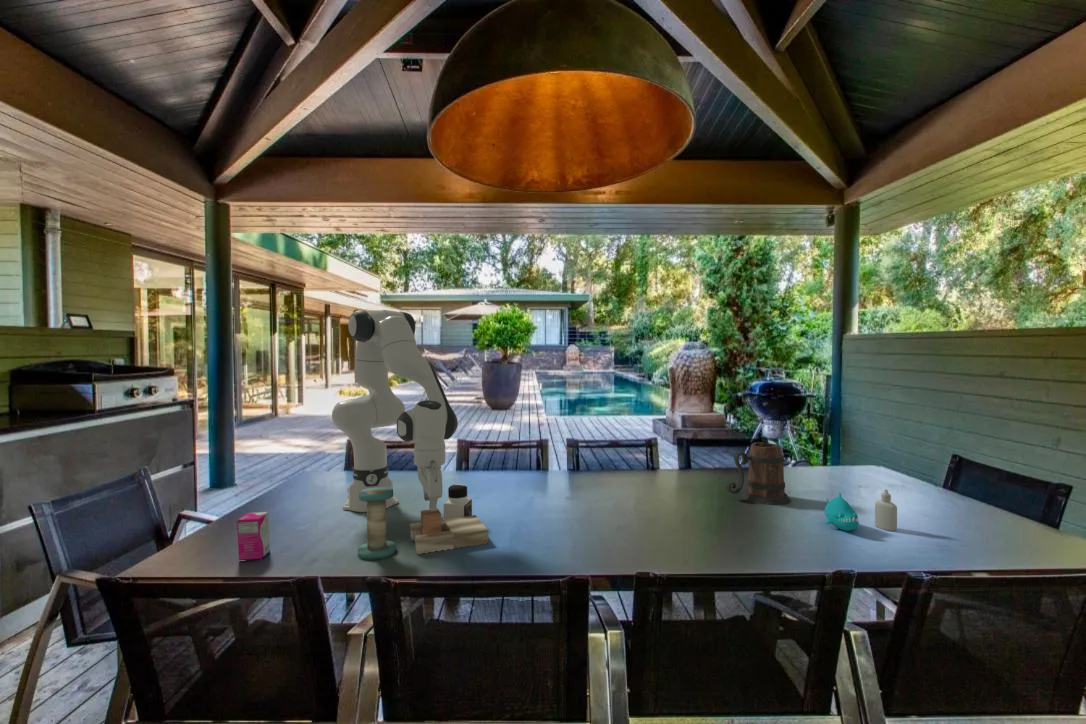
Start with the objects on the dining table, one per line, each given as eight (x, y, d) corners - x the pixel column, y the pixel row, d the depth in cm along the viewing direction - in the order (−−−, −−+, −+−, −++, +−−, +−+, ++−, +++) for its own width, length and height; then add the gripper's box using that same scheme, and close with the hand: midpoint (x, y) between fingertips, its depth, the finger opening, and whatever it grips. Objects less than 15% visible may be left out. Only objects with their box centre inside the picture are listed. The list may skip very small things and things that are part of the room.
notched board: (410, 537, 149) (410, 523, 149) (475, 527, 157) (475, 514, 157) (417, 554, 136) (417, 540, 136) (488, 543, 144) (487, 529, 144)
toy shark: (836, 536, 147) (836, 500, 147) (810, 516, 165) (811, 484, 165) (871, 537, 146) (872, 501, 146) (842, 517, 164) (842, 484, 164)
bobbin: (357, 548, 141) (356, 488, 140) (394, 543, 144) (393, 484, 144) (358, 562, 131) (357, 498, 131) (397, 556, 135) (396, 494, 135)
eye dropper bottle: (886, 525, 156) (887, 487, 156) (899, 531, 151) (899, 492, 150) (872, 525, 156) (873, 487, 156) (884, 531, 151) (884, 492, 150)
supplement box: (248, 553, 138) (247, 512, 138) (270, 552, 139) (269, 511, 138) (237, 562, 132) (236, 519, 132) (260, 561, 133) (259, 518, 132)
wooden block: (421, 541, 146) (420, 510, 146) (438, 538, 148) (437, 508, 148) (423, 547, 141) (423, 515, 141) (441, 544, 143) (441, 513, 143)
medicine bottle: (464, 526, 157) (464, 489, 157) (443, 525, 159) (442, 488, 159) (472, 519, 164) (471, 483, 164) (451, 518, 166) (451, 482, 166)
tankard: (773, 490, 195) (774, 440, 194) (801, 504, 178) (801, 448, 178) (716, 493, 192) (716, 441, 192) (739, 507, 175) (739, 450, 175)
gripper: (448, 464, 136) (448, 515, 136) (434, 449, 155) (434, 493, 155) (424, 466, 133) (424, 517, 134) (413, 451, 152) (414, 496, 153)
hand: (430, 504), depth 145 cm, fingers open, 8 cm apart
